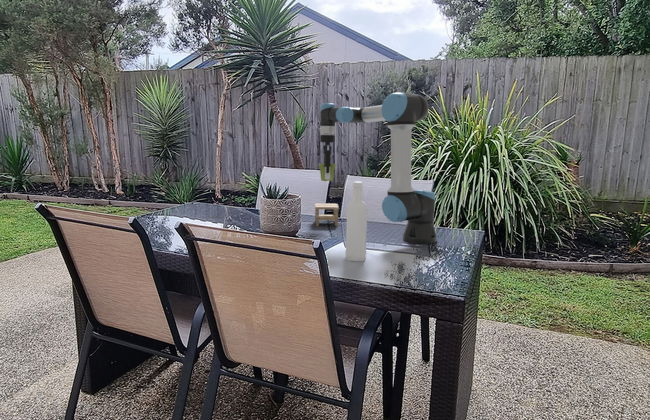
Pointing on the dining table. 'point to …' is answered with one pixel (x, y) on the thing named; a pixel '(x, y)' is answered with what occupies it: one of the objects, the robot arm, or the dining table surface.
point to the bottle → (356, 226)
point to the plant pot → (322, 171)
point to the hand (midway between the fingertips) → (326, 178)
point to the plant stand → (326, 217)
